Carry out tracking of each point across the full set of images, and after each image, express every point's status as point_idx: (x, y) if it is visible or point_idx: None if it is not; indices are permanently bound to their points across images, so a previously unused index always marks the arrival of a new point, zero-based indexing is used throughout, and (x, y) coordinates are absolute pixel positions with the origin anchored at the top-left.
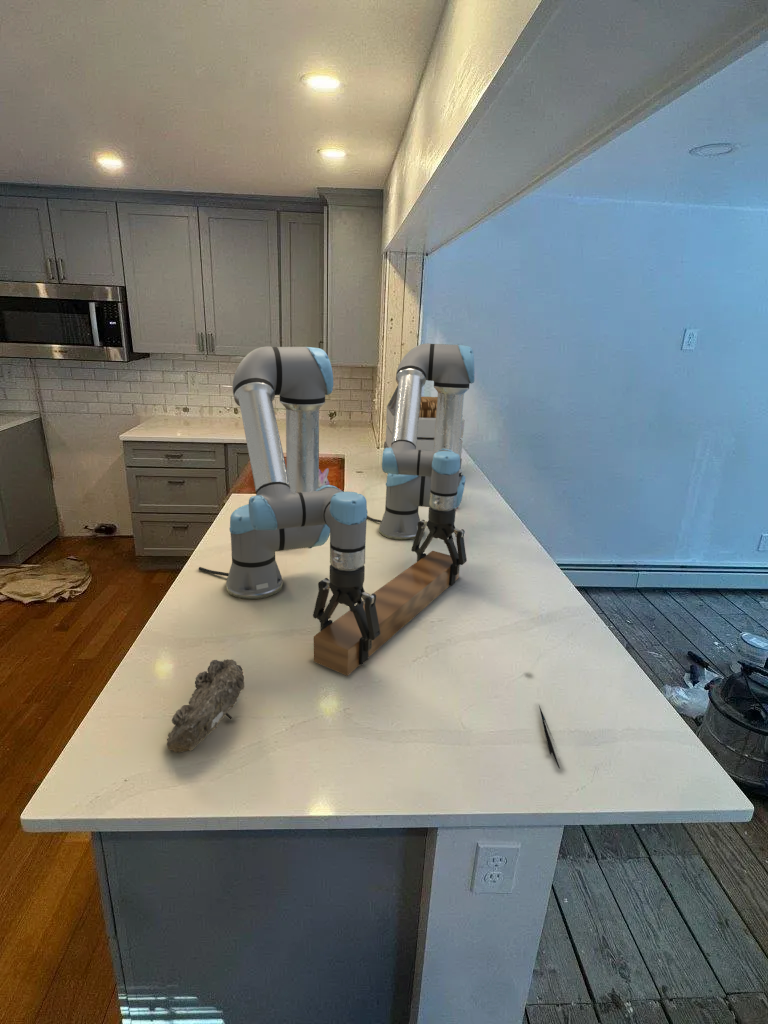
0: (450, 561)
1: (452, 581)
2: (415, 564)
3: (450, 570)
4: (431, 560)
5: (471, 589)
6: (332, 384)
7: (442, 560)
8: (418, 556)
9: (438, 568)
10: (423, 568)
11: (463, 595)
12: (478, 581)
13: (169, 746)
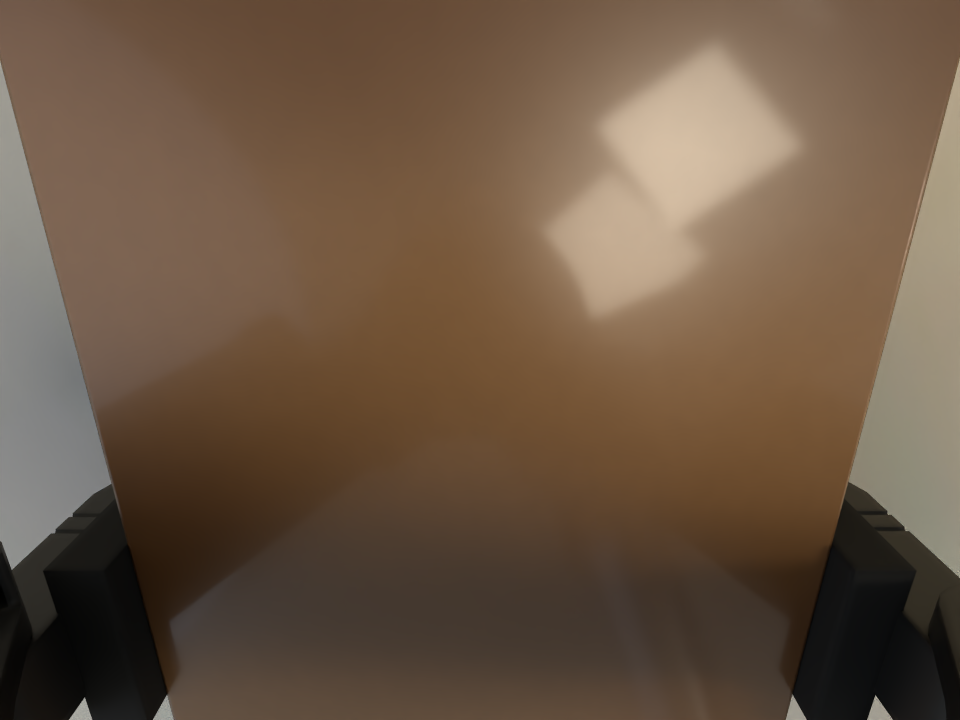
0: (266, 712)
1: None
2: (886, 142)
3: None
4: (600, 562)
5: (58, 458)
6: None
7: (411, 673)
8: (927, 581)
9: (258, 297)
10: (583, 27)
11: (21, 272)
12: None
13: None
